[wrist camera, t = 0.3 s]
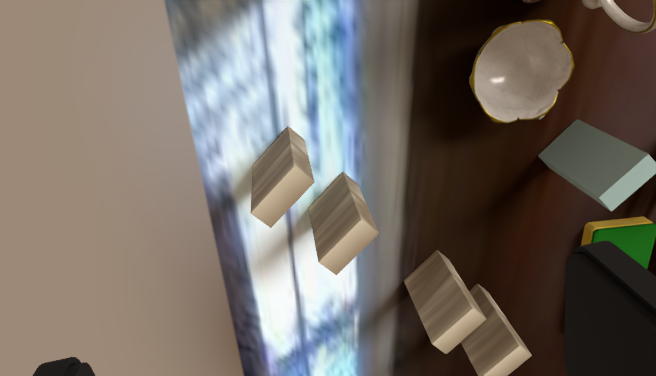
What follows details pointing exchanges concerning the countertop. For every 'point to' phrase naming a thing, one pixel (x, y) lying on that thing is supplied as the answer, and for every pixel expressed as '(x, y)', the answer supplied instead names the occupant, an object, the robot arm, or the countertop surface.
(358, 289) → the countertop surface
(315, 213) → the tile
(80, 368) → the robot arm
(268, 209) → the tile
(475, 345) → the tile
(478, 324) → the tile
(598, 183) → the tile
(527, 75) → the chinaware
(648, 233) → the dish sponge
